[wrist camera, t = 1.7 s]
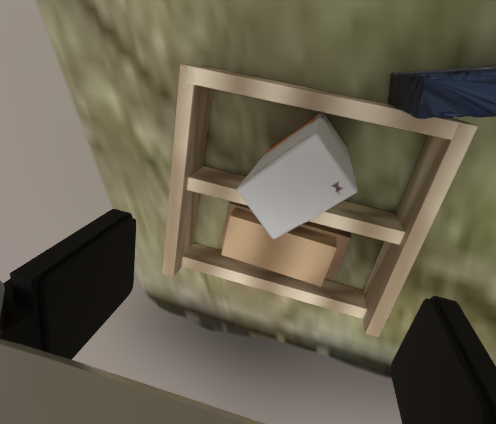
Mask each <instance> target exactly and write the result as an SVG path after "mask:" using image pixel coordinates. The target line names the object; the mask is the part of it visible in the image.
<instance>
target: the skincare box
mask: <svg viewBox="0 0 496 424" xmlns="http://www.w3.org/2000/svg"><path fill="white" fill-rule="evenodd" d="M237 191H238V193H239V194H240V195H241V197H242V198H243V199H244V201H245V202H246V204H247V205H248V206H249V208H250V209H251V210H252V212H253V213H254V215H255V216H256V217H257V219H258V220H259V221H260V223H261V224H262V226H263V227H264V228H265V230H266V231H267V232H268V234H269V235H270V236H271V238H272V239H276V238H278V237H280V236H282V235H283V234H285V233H287V232H289V231H290V230H292V229H294V228H296V227H297V226H299V225H301V224H303V223H305V222H308V221H310V220H312V219H314V218H315V217H317V216H319V215H320V214H321V213H323V212H325V211H326V210H328V209H330V208H331V207H333V206H335V205H337V204H338V203H340V202H342V201H343V200H345V199H347V198H349V197H350V196H352V195H354V194H356V193H357V192H358V189H357V186H356V182H355V177H354V173H353V168H352V164H351V160H350V156H349V151H348V148H347V147H346V145H345V144H344V142H343V141H342V139H341V138H340V136H339V134H338V133H337V131H336V130H335V128H334V127H333V125H332V124H331V122H330V121H329V120H328V118H327V117H326V115H325V114H324V112H320V113H318V114H317V115H316V116H315V117H313V118H312V119H311V120H309V121H308V122H306V123H305V124H304V125H302V126H301V127H300V128H298V129H297V130H296V131H294V132H293V133H292V134H290V135H289V136H287V137H286V138H284V139H283V140H281V141H280V142H278V143H277V144H275V145H274V146H272V147H271V148H270V149H269V150H268V151H267V152H266V153H265V154H264V156H263V157H262V158H261V159H260V161H259V162H258V163H257V164H256V165H255V167H254V168H253V169H252V170H251V172H250V173H249V174H248V175H247V177H246V178H245V179H244V180H243V181H242V183H241V184H240V185H239V186H238V188H237Z"/></svg>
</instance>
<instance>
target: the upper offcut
mask: <svg viewBox="0 0 496 424" xmlns="http://www.w3.org/2000/svg"><path fill="white" fill-rule="evenodd" d="M336 249H337V245H336V238H335V237H332V236H328V235H325V234H322V233H319V232H315V231H312V230H309V229H305V228H302V227H299V226H297V227H296V228H294V229H292V230H290V231H289V232H287V233H285V234H283V235H282V236H280V237H278V238H276V239H272V238H271V236H270V235H269V234H268V232H267V231H266V230H265V228H264V227H263V226H262V224H261V223H260V221H259V220H258V219H257V217H256V216H255V215H254V213H252V212H249V211H246V210H242V209H239V208H236V207H235V209H234V210H233V212H232V213H231V215H230V218H229V222H228V227H227V231H226V236H225V240H224V245H223V249H222V254H221V255H223V256H227V257H230V258H233V259H236V260H239V261H242V262H245V263H248V264H252V265H255V266H258V267H261V268H264V269H267V270H270V271H273V272H277V273H280V274H283V275H286V276H289V277H292V278H295V279H299V280H302V281H305V282H308V283H311V284H314V285H317V286H320V287H321V286H322V283H323V281H324V278H325V276H326V273H327V271H328V268H329V266H330V263H331V261H332V259H333V256H334V254H335V251H336Z"/></svg>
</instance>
